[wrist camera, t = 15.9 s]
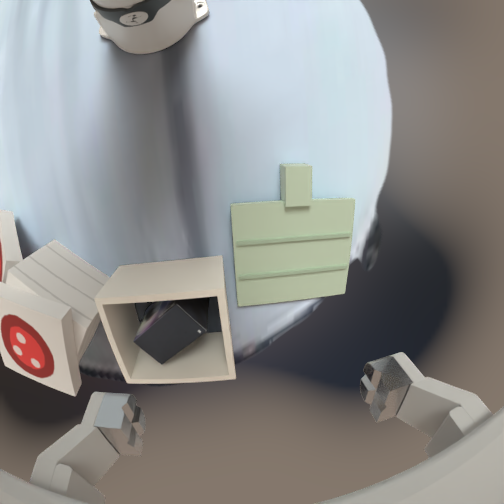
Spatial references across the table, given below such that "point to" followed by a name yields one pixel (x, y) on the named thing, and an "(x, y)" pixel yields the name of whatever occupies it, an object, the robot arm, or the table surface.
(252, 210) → the lid
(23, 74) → the table surface
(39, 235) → the table surface
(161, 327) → the small box
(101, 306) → the tub
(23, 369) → the pizza boxes
